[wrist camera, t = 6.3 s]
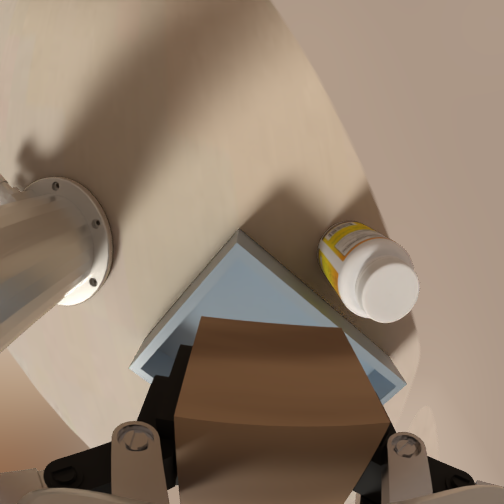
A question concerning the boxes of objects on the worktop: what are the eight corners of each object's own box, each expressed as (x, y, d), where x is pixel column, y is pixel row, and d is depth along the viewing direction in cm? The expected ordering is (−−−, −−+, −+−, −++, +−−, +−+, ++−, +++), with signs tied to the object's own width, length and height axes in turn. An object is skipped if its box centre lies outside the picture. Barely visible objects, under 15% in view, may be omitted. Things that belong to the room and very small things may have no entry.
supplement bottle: (358, 288, 29) (402, 345, 19) (305, 266, 28) (332, 320, 18) (385, 234, 27) (444, 269, 18) (332, 208, 27) (376, 233, 17)
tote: (144, 340, 30) (128, 368, 25) (239, 228, 27) (236, 242, 22) (293, 435, 34) (298, 466, 29) (389, 356, 31) (406, 384, 26)
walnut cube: (201, 315, 11) (173, 416, 6) (341, 327, 11) (390, 422, 6) (197, 417, 12) (181, 514, 8) (313, 424, 13) (333, 517, 8)
